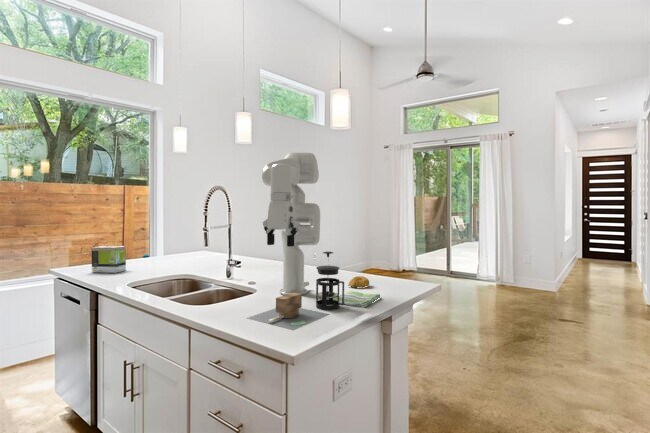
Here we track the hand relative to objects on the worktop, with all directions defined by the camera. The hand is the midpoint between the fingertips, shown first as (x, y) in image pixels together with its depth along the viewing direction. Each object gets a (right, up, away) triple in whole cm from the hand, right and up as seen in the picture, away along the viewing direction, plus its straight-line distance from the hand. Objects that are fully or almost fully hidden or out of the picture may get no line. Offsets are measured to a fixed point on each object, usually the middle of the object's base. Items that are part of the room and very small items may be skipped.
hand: (280, 245), depth 137 cm
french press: (+18, -26, +9) cm, 33 cm away
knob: (+2, -25, -5) cm, 25 cm away
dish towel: (+28, -26, +23) cm, 45 cm away
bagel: (+33, -25, +52) cm, 66 cm away
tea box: (-111, -22, +85) cm, 142 cm away
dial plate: (+3, -26, -3) cm, 27 cm away
